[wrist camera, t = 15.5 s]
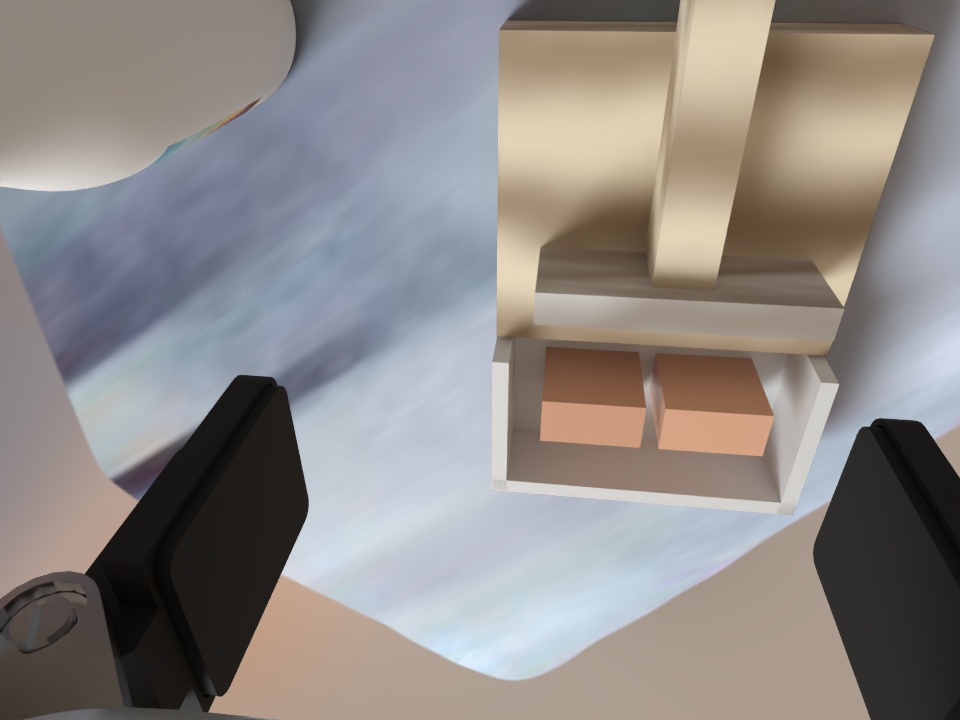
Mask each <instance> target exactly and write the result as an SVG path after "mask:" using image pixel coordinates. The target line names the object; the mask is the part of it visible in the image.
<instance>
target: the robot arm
mask: <svg viewBox="0 0 960 720" xmlns="http://www.w3.org/2000/svg"><path fill="white" fill-rule="evenodd" d="M308 507H309V500H308V494H307V489H306V484H305V479H304V474H303V469H302V464H301V460H300V455H299V450H298V445H297V440H296V435H295V430H294V425H293V420H292V416H291V411H290V406H289V401H288V396H287V392H286V389H285V388H284V387H283V386H277V383H276V381H275V379H274V378H272V377H264V376H250V375H239V376H237V377H236V378H235V379H234V380H233V381H232V382H231V384H230V385H229V386H228V388H227V389H226V390H225V392H224V393H223V394H222V396H221V397H220V398H219V400H218V401H217V402H216V404H215V405H214V406H213V408H212V409H211V410H210V412H209V413H208V415H207V416H206V417H205V419H204V420H203V421H202V423H201V424H200V425H199V427H198V428H197V429H196V431H195V432H194V433H193V435H192V436H191V437H190V439H189V440H188V441H187V443H186V444H185V445H184V447H183V448H182V449H180V450H179V451H178V452H177V453H176V454H175V455H174V456H173V457H172V459H171V460H170V461H169V463H168V464H167V465H166V467H165V468H164V469H163V471H162V472H161V473H160V475H159V476H158V477H157V479H156V480H155V481H154V483H153V484H152V485H151V487H150V488H149V489H148V491H147V492H146V493H145V495H144V496H143V497H142V499H141V500H140V501H139V503H138V504H137V505H136V507H135V508H134V509H133V511H132V512H131V513H130V515H129V516H128V517H127V519H126V520H125V521H124V522H123V524H122V525H121V526H120V528H119V529H118V530H117V532H116V533H115V534H114V536H113V537H112V538H111V540H110V541H109V543H108V544H107V545H106V547H105V548H104V549H103V551H102V552H101V553H100V554H99V556H98V557H97V558H96V560H95V561H94V563H93V564H92V565H91V566H90V568H89V569H88V570H87V572H86V573H85V574H82V573H77V572H72V571H66V572H55V573H50V574H47V575H44V576H40V577H37V578H34V579H32V580H30V581H28V582H26V583H24V584H22V585H20V586H18V587H16V588H15V589H13V590H12V591H10V592H9V593H8V594H6V595H5V596H4V597H2V598H1V599H0V720H277V719H266V718H257V717H247V716H237V715H227V714H217V713H208V711H209V709H210V707H211V705H212V703H213V701H214V698H215V696H223V695H224V694H225V693H226V692H227V691H228V689H229V687H230V685H231V683H232V681H233V678H234V676H235V674H236V672H237V669H238V668H239V665H240V663H241V661H242V659H243V656H244V654H245V652H246V650H247V648H248V646H249V643H250V641H251V639H252V637H253V634H254V632H255V630H256V628H257V626H258V624H259V621H260V619H261V617H262V615H263V612H264V610H265V608H266V606H267V604H268V601H269V599H270V597H271V595H272V593H273V590H274V588H275V586H276V584H277V582H278V579H279V577H280V575H281V573H282V571H283V568H284V566H285V564H286V562H287V560H288V557H289V555H290V553H291V551H292V549H293V546H294V544H295V542H296V540H297V538H298V535H299V533H300V531H301V529H302V527H303V524H304V522H305V520H306V517H307V513H308ZM813 557H814V564H815V567H816V570H817V573H818V575H819V578H820V581H821V584H822V586H823V589H824V592H825V595H826V597H827V600H828V603H829V605H830V608H831V611H832V614H833V616H834V619H835V622H836V625H837V627H838V631H839V633H840V636H841V639H842V642H843V644H844V647H845V650H846V653H847V655H848V658H849V661H850V663H851V666H852V669H853V672H854V675H855V677H856V680H857V683H858V685H859V688H860V691H861V694H862V696H863V699H864V702H865V704H866V707H867V710H868V713H869V716H870V719H871V720H960V478H959V476H958V475H957V473H956V472H955V470H954V469H953V467H952V466H951V464H950V463H949V462H948V460H947V459H946V457H945V456H944V454H943V453H942V451H941V450H940V448H939V447H938V446H937V444H936V442H935V441H934V439H933V438H932V436H931V435H930V433H929V432H928V430H927V429H926V428H925V426H924V425H923V424H922V423H921V422H918V421H912V420H898V419H883V418H879V419H876V420H875V421H873V422H872V424H871V426H870V427H862V428H861V429H860V430H859V432H858V434H857V436H856V439H855V441H854V444H853V446H852V449H851V451H850V454H849V457H848V459H847V462H846V464H845V467H844V469H843V472H842V474H841V477H840V479H839V482H838V485H837V487H836V490H835V492H834V495H833V497H832V500H831V502H830V505H829V507H828V510H827V512H826V515H825V518H824V520H823V523H822V525H821V528H820V530H819V533H818V535H817V538H816V540H815V544H814V550H813Z"/></svg>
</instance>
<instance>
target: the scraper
mask: <svg viewBox="0 0 960 720" xmlns="http://www.w3.org/2000/svg"><path fill="white" fill-rule="evenodd" d="M774 5H775V0H680V7H679V14H678V22H677V29H676V36H675V43H674V50H673V57H672V64H671V71H670V78H669V85H668V92H667V100H666V107H665V114H664V121H663V128H662V135H661V142H660V149H659V156H658V163H657V170H656V178H655V185H654V192H653V199H652V206H651V213H650V220H649V227H648V234H647V241H646V249H645V252H631V251H609V250H587V249H565V248H542V247H540V255H539V263H538V272H537V280H536V289H535V304H534V325H552V326H569V327H587V328H604V329H622V330H639V331H657V332H674V333H692V334H709V335H726V336H744V337H761V338H779V339H796V340H814V341H831V342H834V340H835V337H836V334H837V331H838V328H839V325H840V322H841V319H842V316H843V313H844V310H845V308H844V307H843V305H842V304H841V302H840V301H839V299H838V298H837V296H836V295H835V293H834V292H833V291H832V289H831V288H830V286H829V285H828V283H827V282H826V280H825V279H824V277H823V276H822V274H821V273H820V271H819V270H818V268H817V267H816V265H815V264H814V263H813V261H812V260H809V259H787V258H764V257H742V256H722V252H723V247H724V243H725V238H726V233H727V228H728V224H729V219H730V214H731V209H732V205H733V200H734V195H735V190H736V186H737V181H738V176H739V171H740V167H741V162H742V157H743V152H744V147H745V143H746V138H747V133H748V128H749V124H750V119H751V114H752V109H753V105H754V100H755V95H756V90H757V86H758V81H759V76H760V71H761V67H762V62H763V57H764V52H765V48H766V43H767V38H768V33H769V28H770V24H771V19H772V14H773V9H774Z"/></svg>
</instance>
